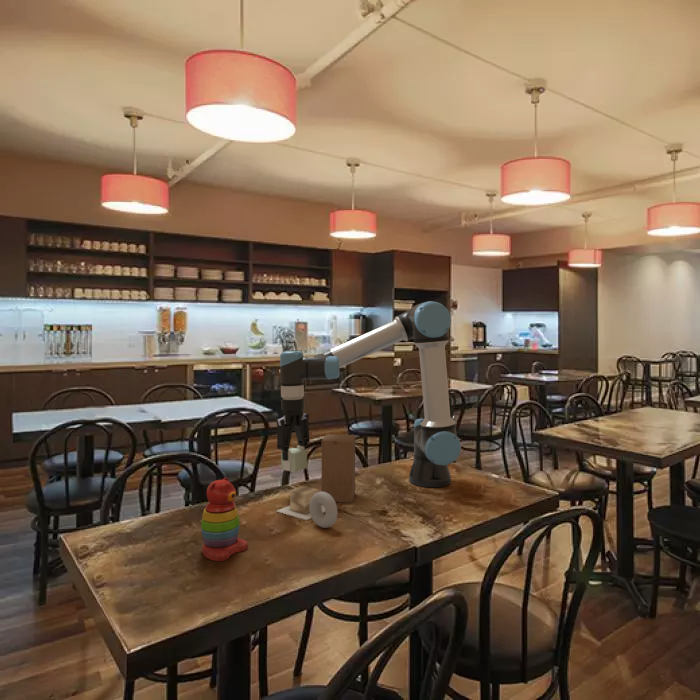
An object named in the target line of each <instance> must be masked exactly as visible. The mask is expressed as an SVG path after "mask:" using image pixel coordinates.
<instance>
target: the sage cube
mask: <svg viewBox="0 0 700 700" xmlns="http://www.w3.org/2000/svg"><path fill="white" fill-rule="evenodd" d="M289 450H291V471H290V472H292V473H297V472H299V471H302V470H305V469H307V468H308V453H307V451H308V450H307V449H305V450H303V449H297V447H291V448H289ZM280 462H281V463H280V465H281V466H280V467H281V468H280V469H281V470H282V471H287V472H289V471H288V470H284V464H283V459H282V450H280Z"/></svg>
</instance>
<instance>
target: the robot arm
mask: <svg viewBox="0 0 700 700" xmlns="http://www.w3.org/2000/svg"><path fill="white" fill-rule="evenodd" d="M451 316H452V315H451V313H450V311H449V309H448V308H447V307H446V306H445V305H443V304H442V303H440V302H437V301H434V300H433V301H430V300H429V301H424V302H421V303H418V304H416V305H414V306H413V307H411V308H409V309H408V310H406V311H405V312H402V313H401V314H398V315H397V316H395V317H394V320H392V321H390V322H388V323H385V324H383V325H381V326H379V327H377V328H375V329H373V330H370V331H368V332H365V333H363V334H362V335H359V336H356V337H355V338H352V339H350V340H348V341H346V342H344V343H341V344H340V345H336V346H334V347H332V348H330V349H329V350H326V351H323V352H322V353H318V354H315V355H314V356H304V353H303V351H300V350H296V351H295V350H287V351H282V352H281V353H280V356H279V357H280V358H279V374H280V375H279V377H280V397H281V398H282V399H281V400H280V403H281V404H280V406H281V407H280V410H282V412H283V414H282V417H281V418H276V419H275V423H276V426H277V428H276V429H277V431H276V432H277V434H276V435H277V436H276V437H277V438H276V448H277V450H280V451H282V459H283V464H284V470H283V471H286V470H288V471H287V472H292V471H291V450H289V449H290V445H291V439H292V434H293V430H294V431H295V435H296V440H297V443H298V445H296V448H297V449H303V450H306V447H307V446H308V445H309V443H310V429H309V427H310V426H309V417H310V414H309V413H304V412H303V410H304V409H305V399H304V397H305V387H304V381H305V380H333V379H338V378H339V377H340V369H341V368H344V367H345V366H349V365H350V364H352V363H354V362H357V361H359V360H361V359H363V358H366V357H368V356H370V355H372V354H374V353H377V352H379V351H382V350H383V349H386V348H388V347H390V346H392V345H395V344H397V343H399V342H402V341H404V342H408V341H410V340H413V345H415V346H416V347H417V348H418V353H419V365H420V378H421V389H422V400H423V413H424V418H417V419H415V420H414V426H413V437H414V438H413V462H412V465H411V468H410V471H409V475H408V477H409V478H408V481H409V482H410V483H411V484H412V485H415V486H418V487H423V488H424V487H425V488H441V487H442V488H443V487H447V486H449V485H451V484H452V474H451V472H450V469H449V465H450V464H452V463H454V462H455V461H456V460H457V459H458V457H459V456H460V454H461V450H462V446H461V445H462V443H461V441H460V438H459V436H457V428H456V427H457V425H456V420H454V419H453V418H452V417H451V410H450V409H451V408H450V396H449V385H448V383H449V382H448V369H447V359H446V358H447V356H446V345H447V344H448V343H449V342H450V338H449V335H450V334H449V330H450V327H451V323H452V319H451V318H452V317H451Z"/></svg>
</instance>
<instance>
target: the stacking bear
mask: <svg viewBox="0 0 700 700" xmlns="http://www.w3.org/2000/svg"><path fill="white" fill-rule="evenodd" d="M236 496H237V490H236V488H235V487H234V485H233V484H232V482H230V481H229V478H228V477H224V478H222V479H218V480H214V481H212V482H211V483H210V484H209V485H208V486H207V489H206V497H207V501H208V503H207V504H206V506H205V508H204V509H203V512H202V518H201V522H200V531H201V535H202V539H203V545H202V547H201V552H202V554H203V556H204V557H205V558H207V559H208V560H212V561H214V562H223V561H226V560H228V559H229V558H230V556H232V555H233V554H235V553H239V552H243V551H246V550H247V549H248V548H249V544H248V542H247V541H246V540H244V539H242V538H239V537H238V536H239V532H240V521H241V520H240V517H239V513H238V509H237V505H236V503H235V502H234V500H235V499H236Z"/></svg>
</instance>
